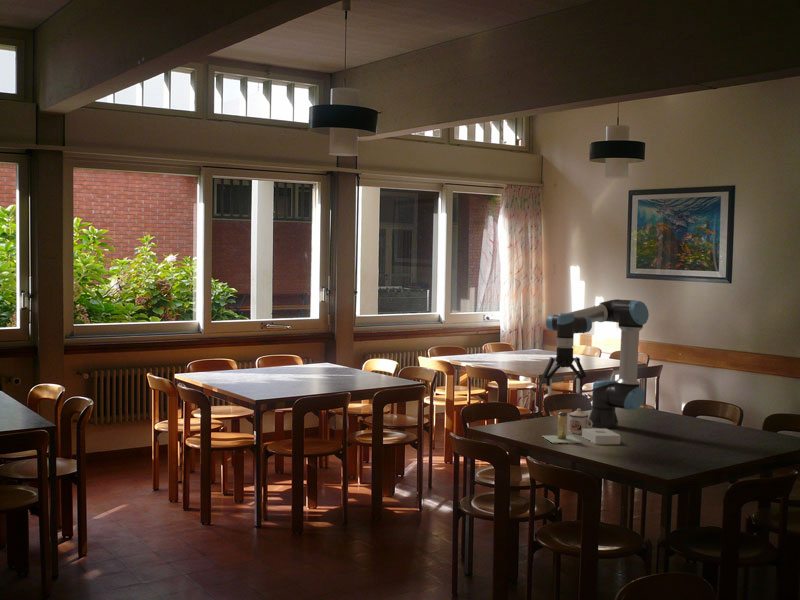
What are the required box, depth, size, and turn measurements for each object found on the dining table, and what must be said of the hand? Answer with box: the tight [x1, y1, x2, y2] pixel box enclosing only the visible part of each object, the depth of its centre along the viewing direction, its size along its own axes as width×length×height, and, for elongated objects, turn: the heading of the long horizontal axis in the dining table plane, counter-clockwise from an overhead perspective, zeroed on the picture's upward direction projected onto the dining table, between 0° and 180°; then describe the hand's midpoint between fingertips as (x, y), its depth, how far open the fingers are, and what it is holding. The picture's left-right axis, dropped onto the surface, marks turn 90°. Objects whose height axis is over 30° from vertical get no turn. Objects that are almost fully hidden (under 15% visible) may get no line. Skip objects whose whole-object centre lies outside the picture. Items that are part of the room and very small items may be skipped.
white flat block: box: [581, 428, 621, 445], centre depth 380 cm, size 16×12×4 cm
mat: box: [541, 434, 583, 444], centre depth 377 cm, size 14×14×1 cm
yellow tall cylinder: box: [556, 411, 568, 440], centre depth 377 cm, size 4×4×12 cm
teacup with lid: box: [568, 408, 593, 435], centre depth 396 cm, size 12×9×12 cm
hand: (563, 393), depth 376 cm, fingers open, 13 cm apart
